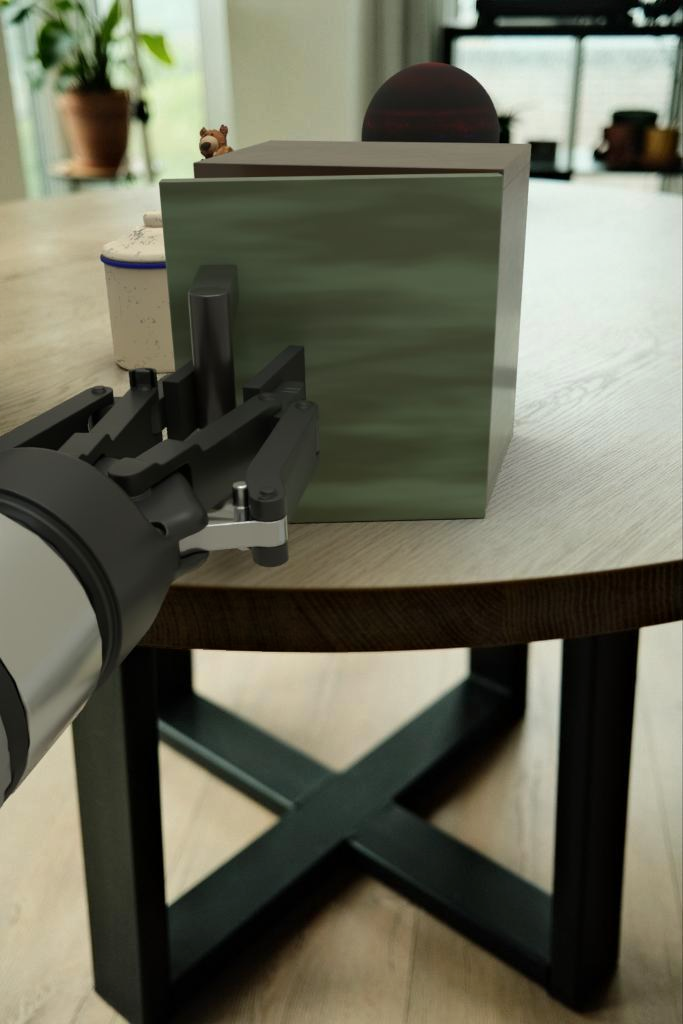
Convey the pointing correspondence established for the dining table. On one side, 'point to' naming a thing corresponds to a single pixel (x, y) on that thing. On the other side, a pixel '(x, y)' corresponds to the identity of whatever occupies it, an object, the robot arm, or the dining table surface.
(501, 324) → the cupboard
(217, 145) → the bear figurine
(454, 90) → the decorative orb
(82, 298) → the dining table surface
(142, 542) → the robot arm
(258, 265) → the door
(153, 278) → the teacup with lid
